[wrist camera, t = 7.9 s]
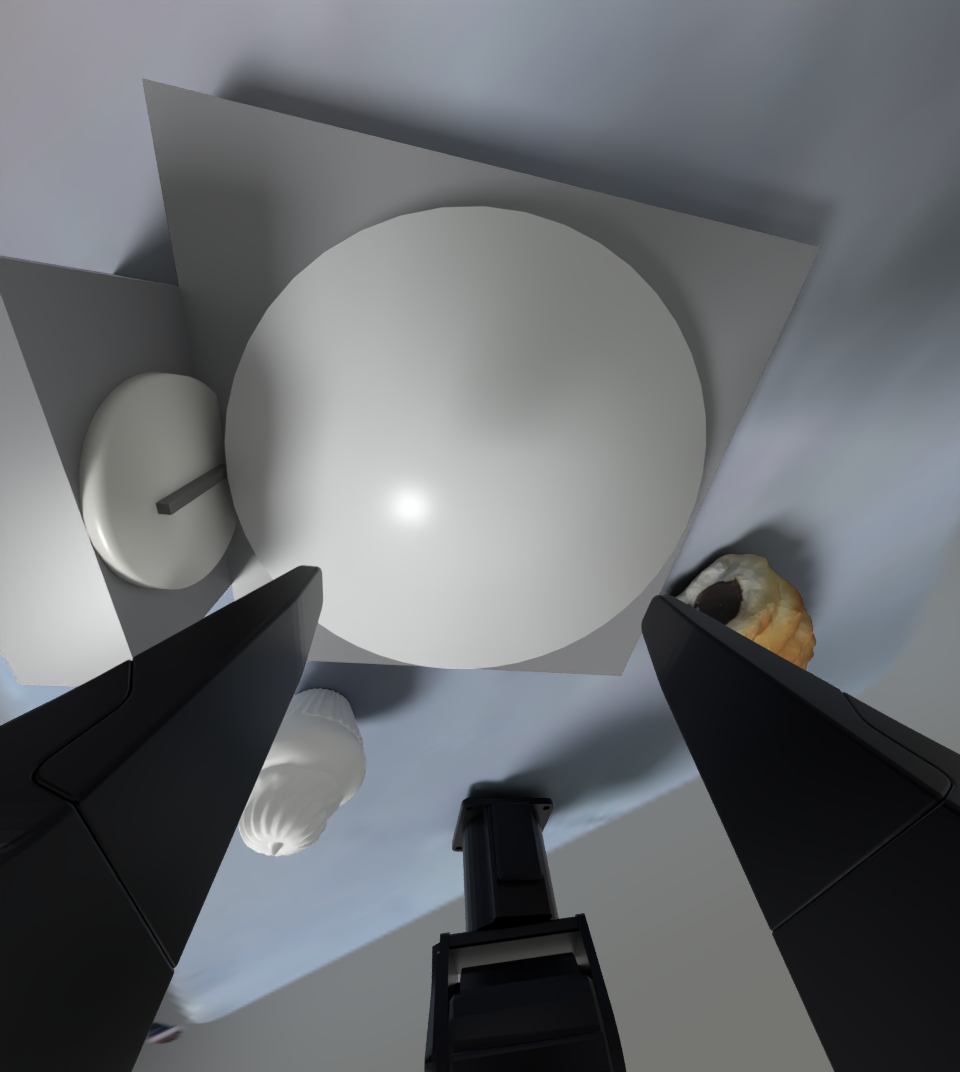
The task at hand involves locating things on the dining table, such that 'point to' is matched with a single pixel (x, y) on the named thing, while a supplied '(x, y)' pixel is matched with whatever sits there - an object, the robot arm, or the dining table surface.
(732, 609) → the pastry
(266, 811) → the garlic bulb
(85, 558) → the scale
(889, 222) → the dining table surface
